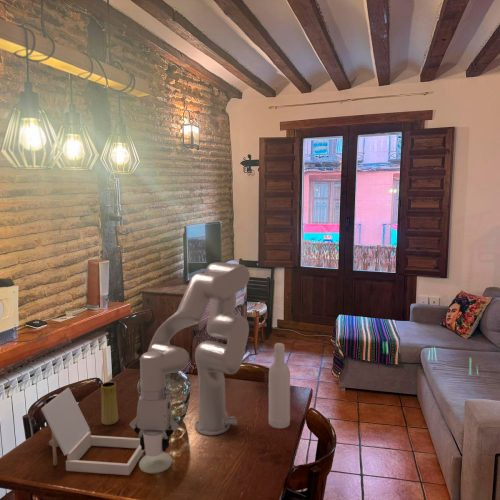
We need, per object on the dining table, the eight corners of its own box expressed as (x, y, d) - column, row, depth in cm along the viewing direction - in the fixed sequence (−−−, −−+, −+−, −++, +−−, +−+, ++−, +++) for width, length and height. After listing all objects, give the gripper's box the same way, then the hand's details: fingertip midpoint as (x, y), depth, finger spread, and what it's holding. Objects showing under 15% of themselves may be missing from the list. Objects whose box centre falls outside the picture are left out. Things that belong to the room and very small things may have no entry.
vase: (121, 417, 165) (119, 381, 163) (114, 425, 159) (112, 388, 157) (105, 416, 166) (104, 380, 164) (98, 424, 160) (96, 387, 158)
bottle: (279, 431, 154) (279, 349, 151) (264, 423, 160) (263, 344, 157) (294, 423, 159) (295, 344, 156) (279, 415, 165) (279, 339, 162)
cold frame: (146, 447, 145) (144, 390, 142) (129, 475, 130) (126, 412, 128) (70, 442, 148) (67, 387, 146) (44, 469, 133) (40, 408, 131)
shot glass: (169, 447, 137) (169, 426, 136) (158, 459, 130) (158, 437, 130) (150, 443, 139) (150, 422, 138) (138, 455, 133) (138, 433, 132)
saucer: (175, 455, 140) (175, 453, 140) (166, 474, 130) (166, 472, 130) (146, 453, 141) (145, 451, 141) (134, 472, 131) (134, 469, 131)
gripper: (184, 388, 136) (185, 443, 137) (131, 386, 138) (132, 440, 139) (177, 399, 128) (178, 457, 130) (121, 396, 130) (123, 453, 132)
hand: (154, 447), depth 135 cm, fingers closed on shot glass, 6 cm apart
